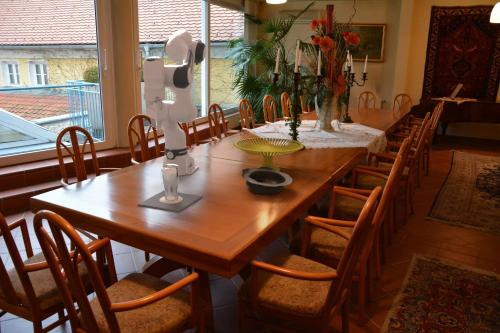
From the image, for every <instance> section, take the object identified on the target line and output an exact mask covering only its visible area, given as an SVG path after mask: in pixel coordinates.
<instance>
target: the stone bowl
mask: <svg viewBox="0 0 500 333" xmlns="http://www.w3.org/2000/svg"><path fill="white" fill-rule="evenodd" d="M261 166H262V165H261ZM258 167H259V168H257V167H256V168H244V169H242V170H241V172H242V174H241V177H242V178H243V179H245V180H246V181H245V186H247V187H248V188H249V189H250V192H252V193H254V194H260V195H264V194H267V195H275V194H278V193H280V192H281V191H282V190H283V189H284V187H285V186H288V185H291V183H292V182H293V178H292V177H291V175H289V174H287V173H285V172H281V171H275V170H274V169H272V168H270V167H263V166H262V167H260V166H258ZM292 184H293V183H292Z"/></svg>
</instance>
